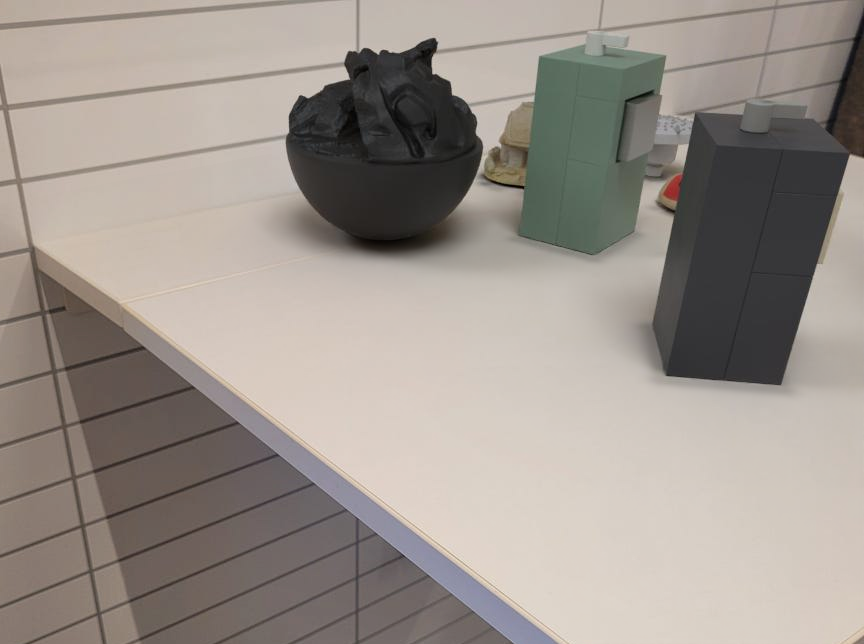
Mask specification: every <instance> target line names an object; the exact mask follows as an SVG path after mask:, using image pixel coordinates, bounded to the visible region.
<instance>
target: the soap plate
mask: <svg viewBox="0 0 864 644" xmlns="http://www.w3.org/2000/svg"><path fill="white" fill-rule="evenodd" d="M662 100H663V95H662V94H653V93H649V94H646V95H643V96H641V97H638V98H635V99H633V100H630V101H627V102H625V106H624V112H623V118H622V124H621V130H620V136H619V143H618V149H617V155H616V160H621V161H626V162H628V161H630V160H632V159H635V158H637V157H639V156H641V155H643V154H645V153H647V152H649V151H651V150H652V149H653V144H654V138H655V133H656V127H657V122H658V116H659V114H660V110H661V106H662V105H661V104H662Z"/></svg>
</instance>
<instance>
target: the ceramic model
mask: <svg viewBox="0 0 864 644" xmlns="http://www.w3.org/2000/svg"><path fill="white" fill-rule="evenodd" d="M533 106H534V101H522V102H521V104H520V105H519V106H518V107H517V108H516V109H514V110H510V112H509V114H508V115H507V120H506V124H505V126H504V130H503V132H502V134H501V135H500V136H499V138H498V143H499V144H500V146H497V145H495V146H494V147H492V148H490V149H489V150H488V155H487V156H486V158H485V159H484V163H483V167H484V176H485V177H486V178H487V179H489V180H492V181H494V182H497V183H501V184H505V185H513V186H522V187H525V178H526V169H527V160H528V151H529V142H530V133H531V124H532V115H533Z"/></svg>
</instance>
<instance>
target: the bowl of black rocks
mask: <svg viewBox="0 0 864 644" xmlns="http://www.w3.org/2000/svg"><path fill="white" fill-rule="evenodd" d="M438 45H439V41H437V38H435V37H431V38H428V39H427V38H426V40H422V41H420V42H419V43H417V44H416V45H415V46H413V47H411V48H410V49H407V50H404V51H401V52H394V51H392V52H389V50H388V49H381V50H380V51H379V53H377V52H375V51H374V50H372V49H371V48H369V47H363V48H362V49H361V50H360V51H359V52H357V51H356V50H353V51H352V50H348V51H347V53H346V55H345V58H344V62H343V65H344V68H345V71H346V72H347V74H348V78H349V79H343V80H340V81H337V82H333V83H328V84H325V85H324V86H323V88H322V90H320V91H319V92H317V93H315V94H313V95H312V96H310V97H307V96H305V95H302V94H300V95H298V97H297V99H296V101H295V102H294V104H293V106H292V108H291V110H290V112H289V113H288V114H289V115H288V133H287V134H286V137H285V150H286V155H287V156H286V157H287V161H288V164H289V167H290V170H291V173H292V175H293V178H294V181H295V183H296V184H297V187H298V188H299V190H300V192H301V194H302V195H303V197H304V198H305V200H306V201H307V202H308V203H309V205H310V206H311V207H312V208H313V209H314V210H315V212H316V213H318V214H319V215H320V216H321V217H322V218H323V219H324V220H325V221H327V222H328V223H330V224H331V225H333V226H334V227H336V228H338V229H339V230H341V231H343V232H345V233H347V234H349V235H353V236H356V237H359V238H362V239H367V240H375V241H395V240H402V239H406V238H410V237H415V236H416V235H420V234H422V233H424V232H427V231H428V230H431V229H432V228H433V227H435V226H437V225H438V224H440V223H441V222H442V221H444V220H445V219H446V218H447V217H448V216H449V215H450V214H452V213H453V212H454V210H456V209H457V207H458V206H459V205H460V204H461V202H463V200H464V198H465V197H466V195H467V194H468V192H469V191H470V189H471V187H472V186H473V183H474V181H475V179H476V176H477V175H478V171H479V169H480V165H481V162H482V157H483V153H484V143H483V140H482V138H480V137H479V136H478V135H477V127H478V118H477V116H476V114H475V113H473V112H472V108H471V107H470V106H469V104H468V102H466V100H465V99H464V98H462V97H459V96H457V95H456V94H455V95H454V94H453V88H452V83H451V81H450V80H448V79H446V78H443V77H442V76H440V75H439V74H437V73H433V57H434V55H435V54H437V51H438Z"/></svg>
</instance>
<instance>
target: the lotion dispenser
mask: <svg viewBox="0 0 864 644" xmlns="http://www.w3.org/2000/svg"><path fill="white" fill-rule="evenodd" d="M807 111H808V104H807V103H805V102H802V101H801V102H800V101H782V100H770V99H765V98H749V99H746V100H745V104H744V107H743V114H737V113H735V114H734V113H721V112H701V111H695V112H694V116H693V120H692V122H693V125H692V130H691V135H690V140H689V144H687V151H686V155H685V161H684V165H683V171H682V174H683V175H682V180H681V185H680V189H679V194H678V199H677V204H676V209H675V211H674V213H673V214H674V215H673V219H672V224H671V229H670V235H669V239H668V244H667V249H666V254H665V259H664V264H663V268H662V273H661V278H660V279H661V280H660V283H659V288H658V294H657V298H656V303H655V308H654V313H653V318H652V322H651V325H652V328H653V332H654V335H655V340H656V343H657V347H658V350H659V354H660V357H661V361H662V365H663V369H664V373H665V376H669V377H682V378H693V379H704V380H705V379H706V380H718V381H720V380H721V381H731V382H742V383H743V382H744V383H756V384H757V383H758V384H770V385H782V383H783V380H784V376H785V373H786V371H787V366H788V363H789V360H790V356H791V353H792V350H793V347H794V344H795V340H796V337H797V333H798V330H799V326H800V323H801V320H802V317H803V313H804V310H805V306H806V303H807V300H808V296H809V293H810V290H811V286H812V283H813V280H814V276H815V274H816V273H815V272H816V270H817V267H818V264H817V263H818V259H819V256H820V253H821V249H822V246H823V243H824V239H825V236H826V233H827V229H828V226H829V222H830V219H831V216H832V212H833V209H834V206H835V202H836V199H837V196H838V193H839V189H841V187H842V184H843V183H842V182H843V179H844V175H845V171H846V170H847V166H848V163H849V160H850V156H851V152H850V151H849V149H847V148H846V147H845V146H844V145H842V143H840V142H839V141H838V140H837V138H835V137H834V136H833V135H832V134H830V132H828V131H827V130H826V129H825V128H824V127H823V126H822V125H821V124H820V123H819V122H817V121H816V120H815V119H814V118H808V117H807V118H806V113H807Z"/></svg>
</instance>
